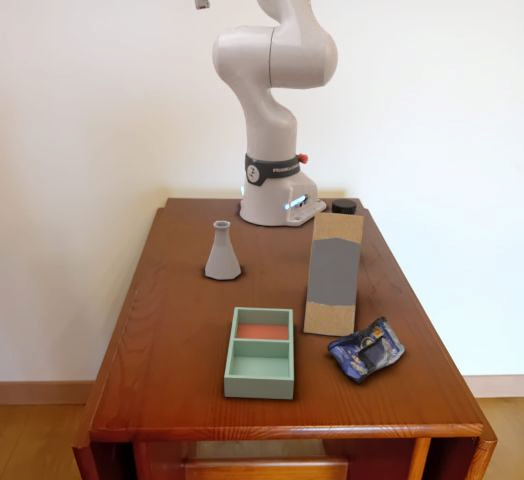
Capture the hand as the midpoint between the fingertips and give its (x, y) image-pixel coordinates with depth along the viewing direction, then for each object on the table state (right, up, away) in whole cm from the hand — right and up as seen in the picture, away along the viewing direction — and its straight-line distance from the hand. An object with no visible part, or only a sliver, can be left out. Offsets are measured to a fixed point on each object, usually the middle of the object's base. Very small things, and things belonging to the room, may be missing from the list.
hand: (235, 4), depth 73 cm
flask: (-4, -32, +32) cm, 46 cm away
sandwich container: (+15, -40, +21) cm, 48 cm away
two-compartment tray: (+3, -48, +9) cm, 49 cm away
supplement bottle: (+19, -28, +38) cm, 51 cm away
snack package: (+20, -49, +9) cm, 54 cm away
